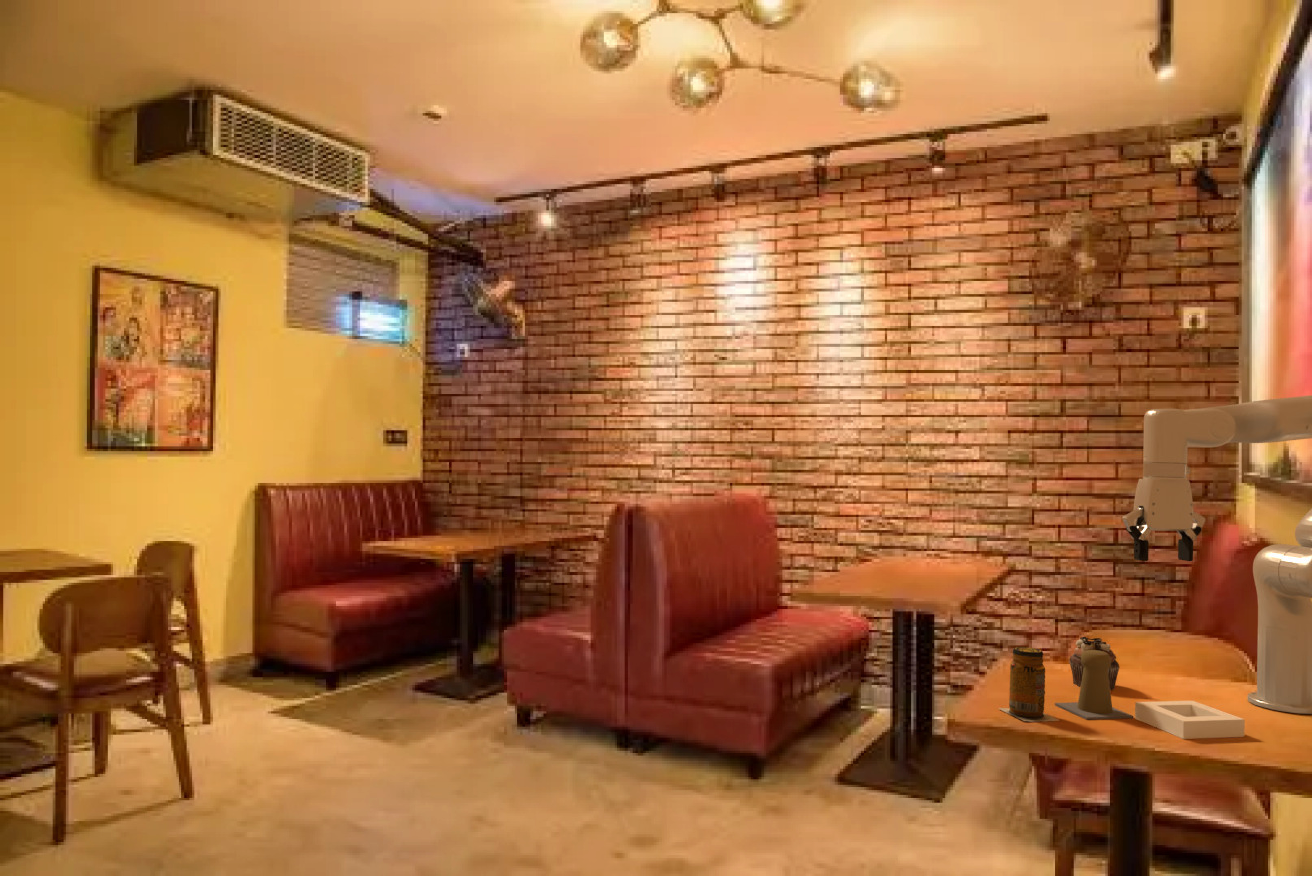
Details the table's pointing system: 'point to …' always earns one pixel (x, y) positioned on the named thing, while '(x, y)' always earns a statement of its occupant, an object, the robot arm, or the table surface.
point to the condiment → (1027, 686)
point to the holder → (1189, 719)
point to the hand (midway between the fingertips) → (1163, 560)
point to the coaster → (1087, 715)
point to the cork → (1095, 683)
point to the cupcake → (1092, 645)
